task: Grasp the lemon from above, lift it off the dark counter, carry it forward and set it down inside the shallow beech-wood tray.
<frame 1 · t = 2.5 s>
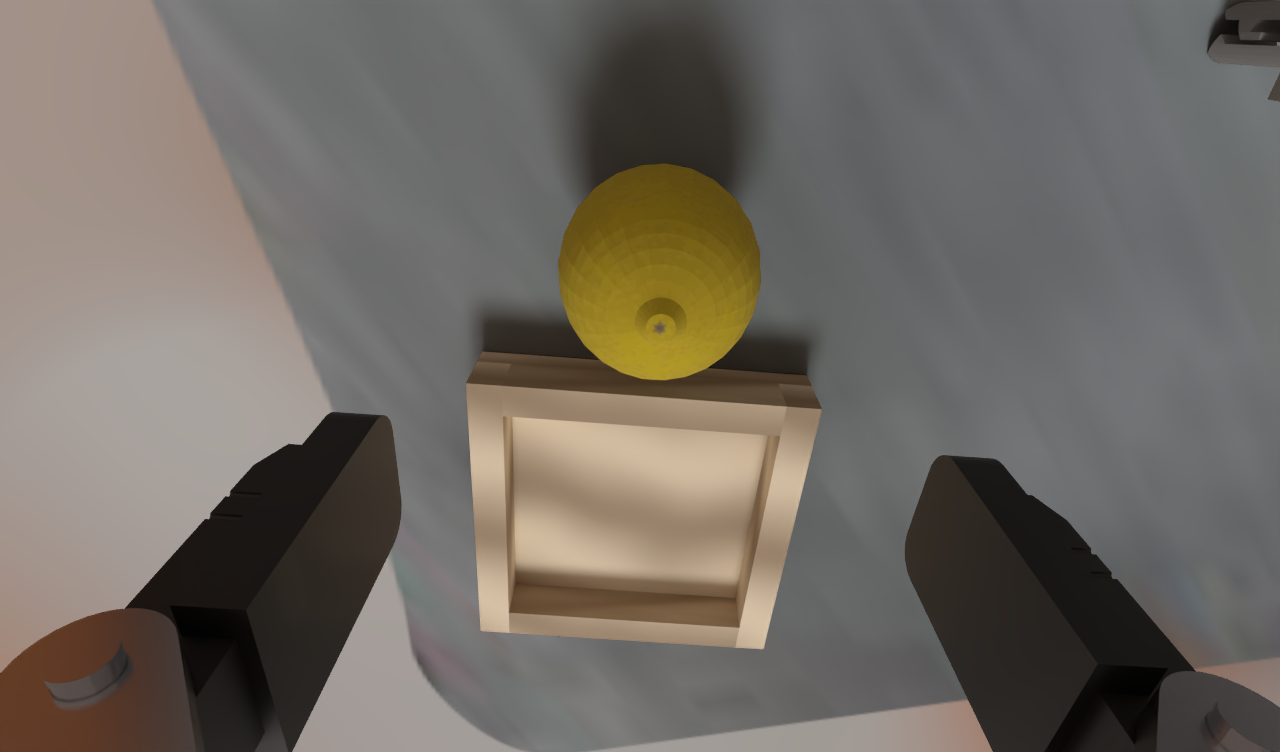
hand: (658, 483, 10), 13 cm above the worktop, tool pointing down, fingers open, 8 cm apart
tray: (634, 492, 27), on the worktop
lemon: (657, 228, 22), on the worktop
mechanical component: (1231, 33, 19), on the worktop
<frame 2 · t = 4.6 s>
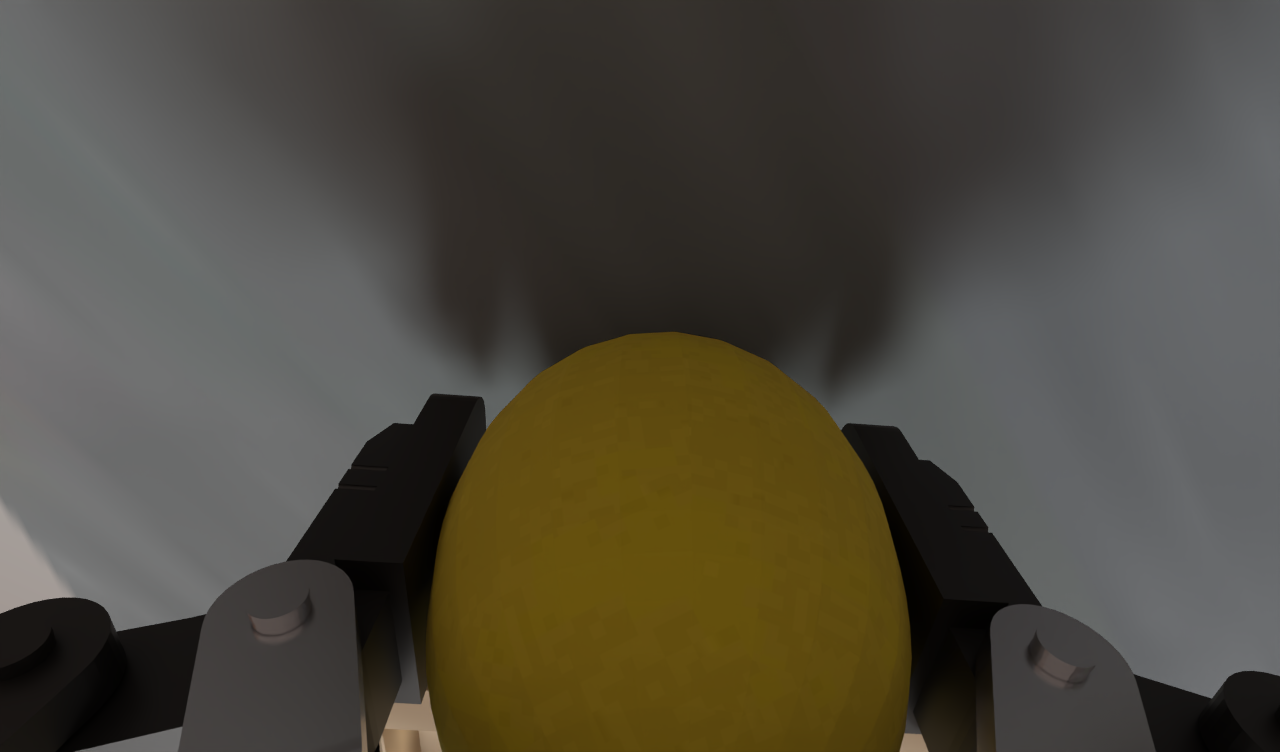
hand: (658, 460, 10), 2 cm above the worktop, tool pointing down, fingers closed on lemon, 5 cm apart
lemon: (657, 398, 12), on the worktop, touching gripper
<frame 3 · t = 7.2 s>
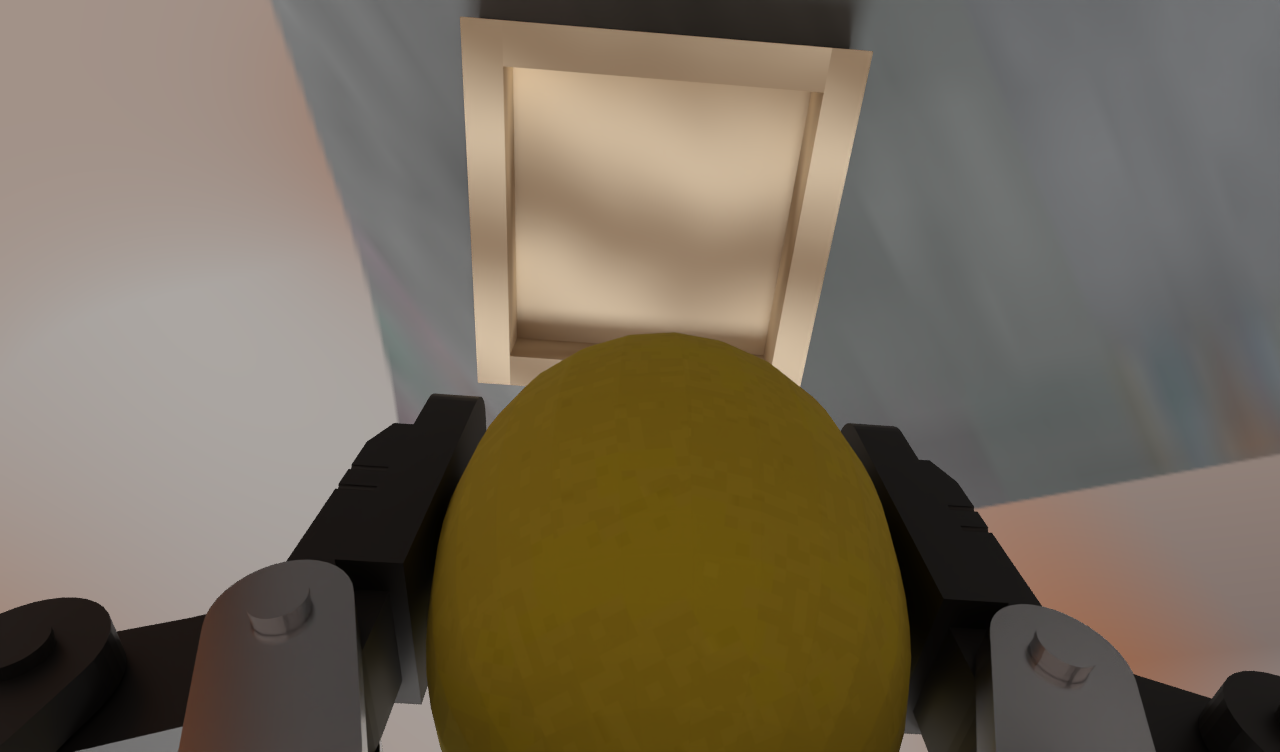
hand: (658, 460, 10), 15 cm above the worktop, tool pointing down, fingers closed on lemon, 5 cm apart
tray: (650, 218, 24), on the worktop
lemon: (657, 399, 12), point 13 cm above the worktop, touching gripper
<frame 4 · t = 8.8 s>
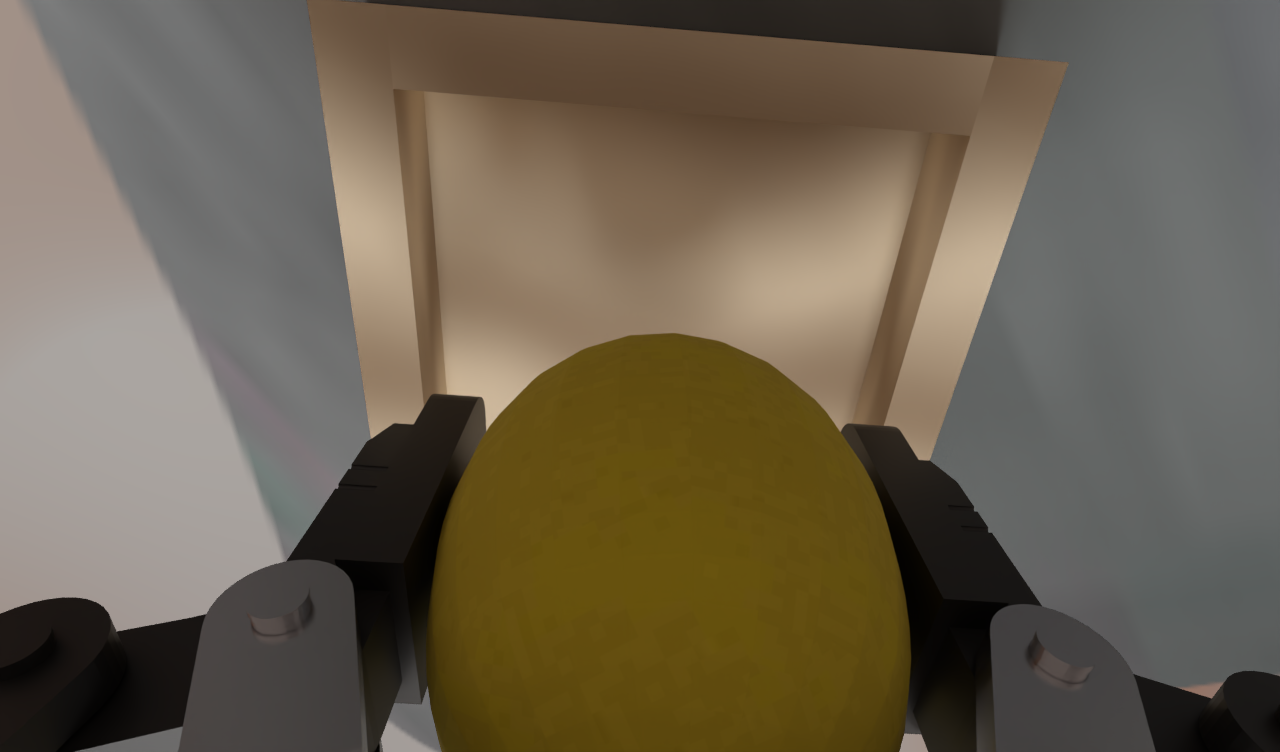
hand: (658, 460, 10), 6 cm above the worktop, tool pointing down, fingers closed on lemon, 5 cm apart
tray: (657, 320, 15), on the worktop
lemon: (657, 399, 12), point 4 cm above the worktop, touching gripper
when the fingers open (4 cm above the worktop, at t = 10.1 s): lemon drops 1 cm, resting on tray.
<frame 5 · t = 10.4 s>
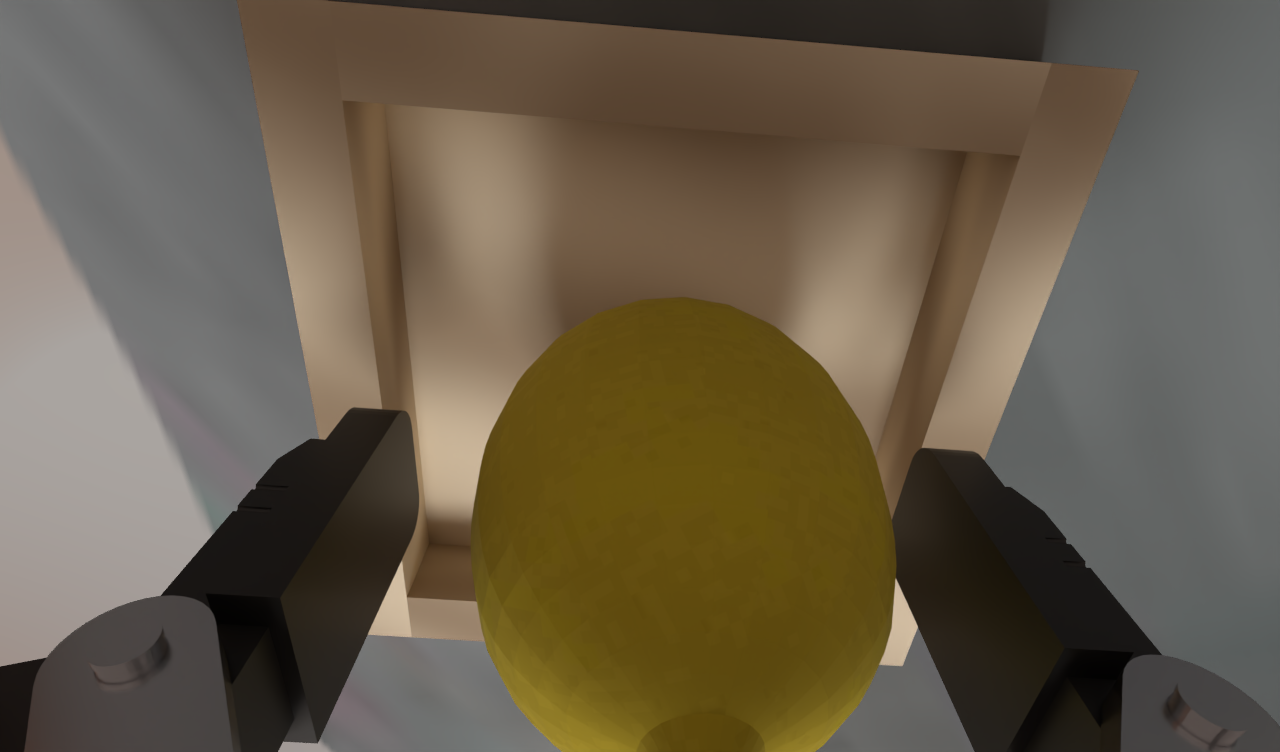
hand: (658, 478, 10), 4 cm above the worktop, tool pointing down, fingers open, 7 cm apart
tray: (654, 356, 14), on the worktop
lemon: (661, 367, 13), point 1 cm above the worktop, touching tray
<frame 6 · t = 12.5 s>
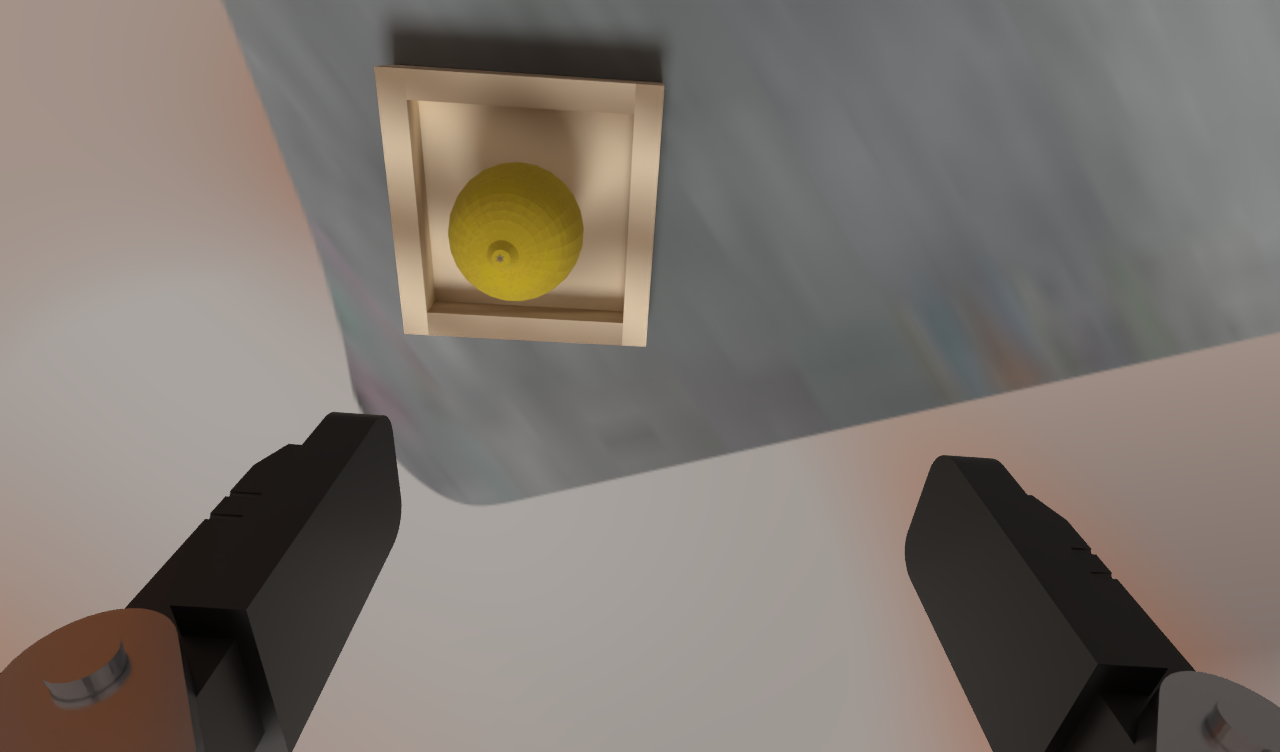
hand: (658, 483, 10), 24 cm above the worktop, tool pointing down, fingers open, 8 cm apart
tray: (530, 208, 32), on the worktop
lemon: (531, 209, 31), point 1 cm above the worktop, touching tray
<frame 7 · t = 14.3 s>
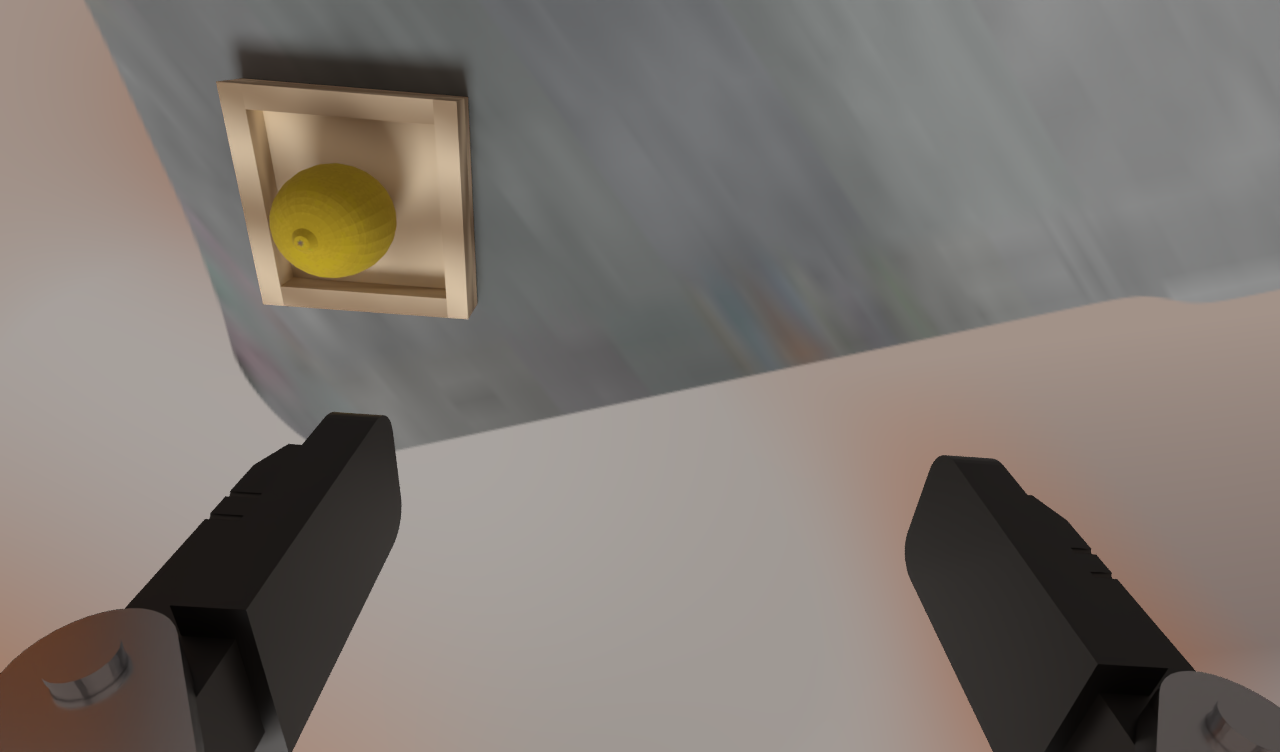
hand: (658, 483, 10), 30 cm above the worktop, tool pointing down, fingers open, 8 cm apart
tray: (369, 200, 38), on the worktop
lemon: (367, 201, 37), point 1 cm above the worktop, touching tray
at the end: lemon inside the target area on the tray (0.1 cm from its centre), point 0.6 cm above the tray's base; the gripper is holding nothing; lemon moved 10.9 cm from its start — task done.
